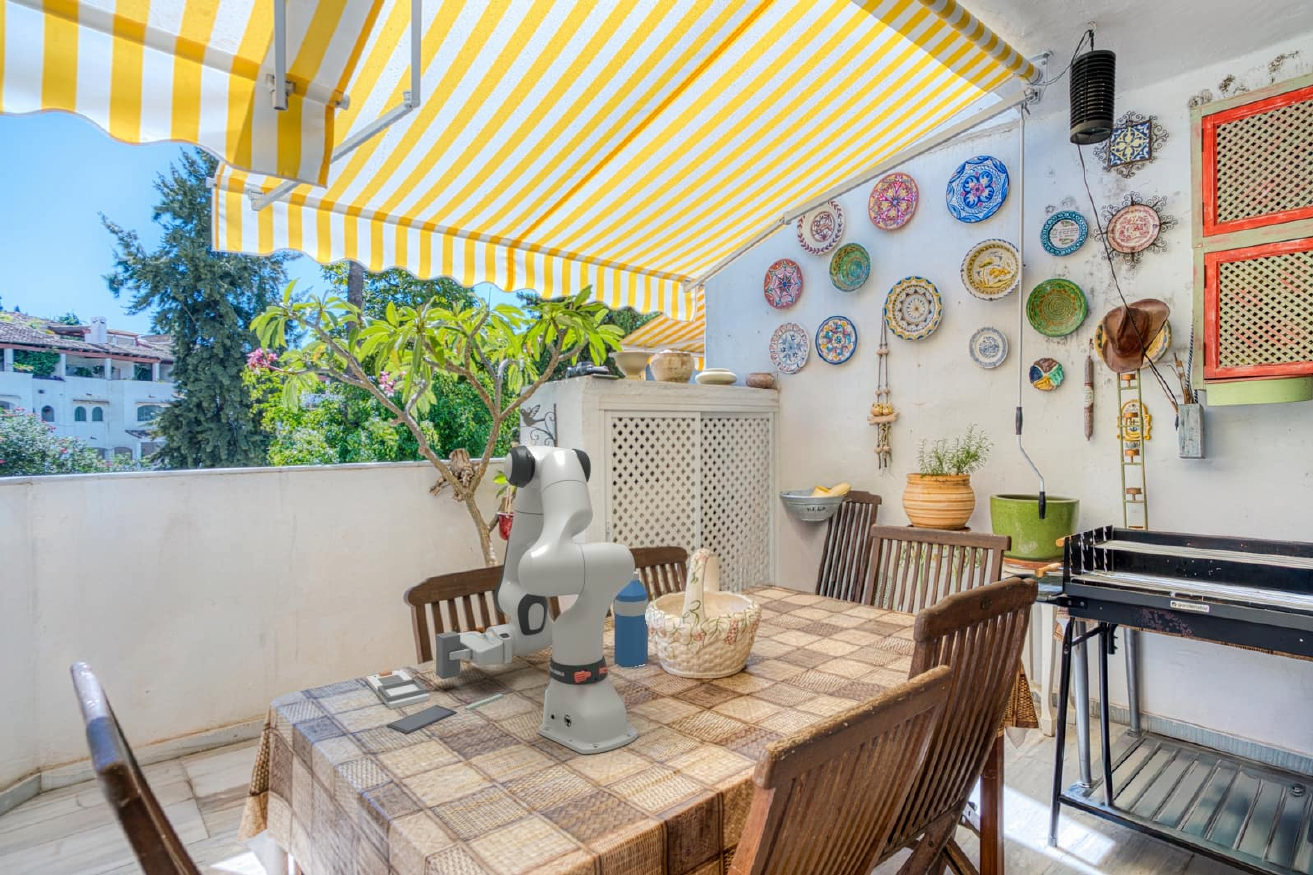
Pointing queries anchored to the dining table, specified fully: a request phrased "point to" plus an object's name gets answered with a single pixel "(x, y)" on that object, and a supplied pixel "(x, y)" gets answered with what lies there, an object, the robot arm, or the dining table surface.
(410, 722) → the phone
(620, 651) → the water bottle
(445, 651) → the grey rectangular block
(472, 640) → the robot arm
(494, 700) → the pale green stick
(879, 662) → the dining table surface
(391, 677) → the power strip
